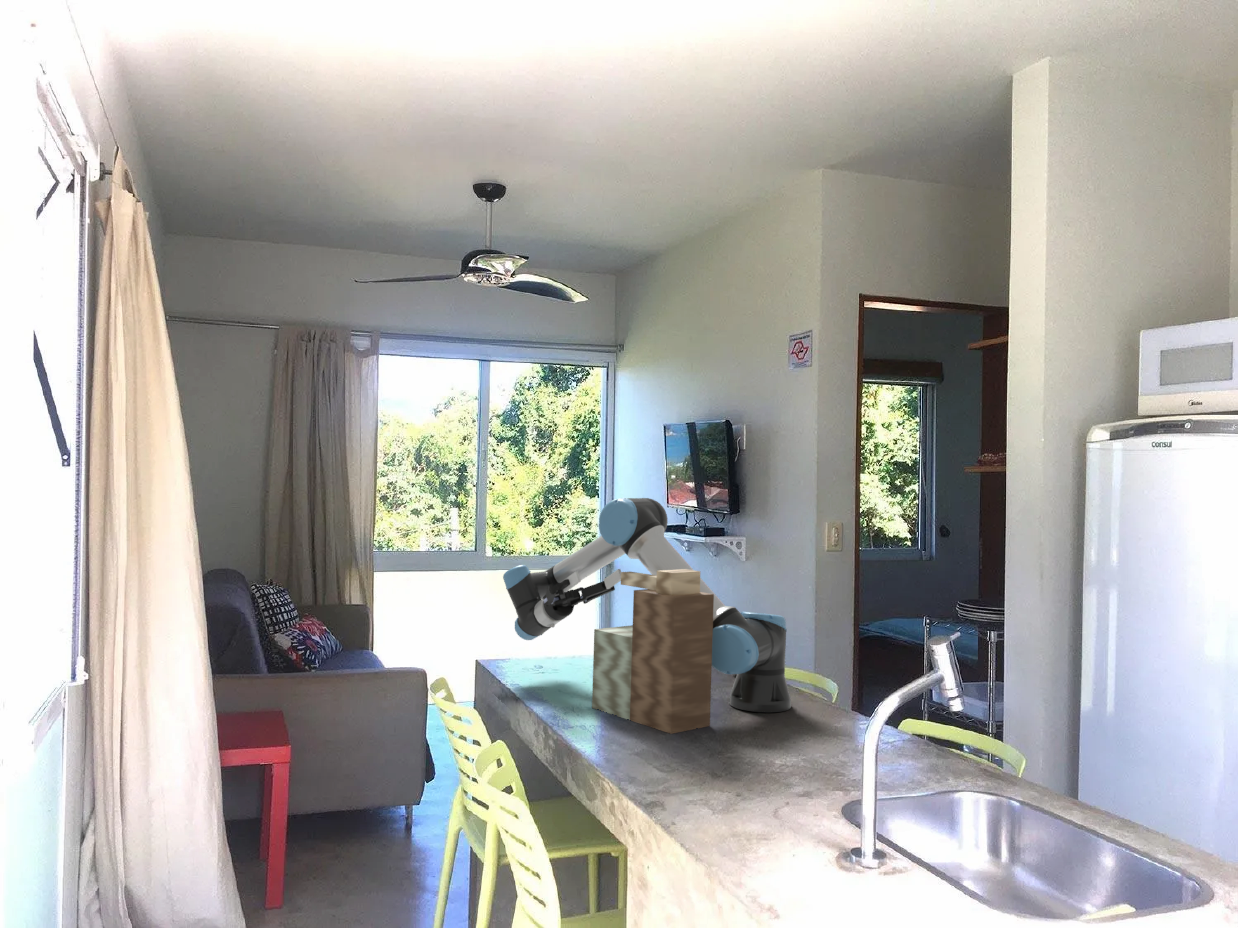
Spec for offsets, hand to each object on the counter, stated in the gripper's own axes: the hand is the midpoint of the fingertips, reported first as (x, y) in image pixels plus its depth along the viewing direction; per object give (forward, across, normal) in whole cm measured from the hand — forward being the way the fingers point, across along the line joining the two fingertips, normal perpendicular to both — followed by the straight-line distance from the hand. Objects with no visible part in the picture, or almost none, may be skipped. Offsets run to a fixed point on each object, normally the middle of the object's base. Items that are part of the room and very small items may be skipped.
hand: (599, 574), depth 250 cm
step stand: (+2, 0, -37) cm, 37 cm away
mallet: (+17, 0, -11) cm, 20 cm away
